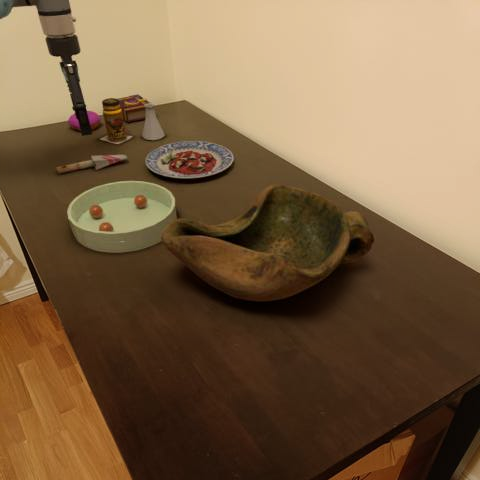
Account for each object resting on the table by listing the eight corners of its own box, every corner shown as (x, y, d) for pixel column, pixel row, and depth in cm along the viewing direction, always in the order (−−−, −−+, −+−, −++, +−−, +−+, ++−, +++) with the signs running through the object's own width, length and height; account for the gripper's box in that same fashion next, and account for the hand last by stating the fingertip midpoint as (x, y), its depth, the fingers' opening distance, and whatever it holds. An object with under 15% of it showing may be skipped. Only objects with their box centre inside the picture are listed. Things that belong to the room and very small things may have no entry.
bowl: (215, 361, 71) (220, 291, 61) (153, 264, 89) (148, 197, 79) (388, 300, 87) (415, 236, 77) (305, 228, 105) (318, 169, 94)
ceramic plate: (248, 157, 131) (248, 147, 129) (205, 192, 115) (204, 182, 113) (178, 142, 140) (177, 133, 138) (128, 173, 123) (126, 163, 121)
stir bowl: (79, 262, 92) (73, 243, 88) (68, 209, 108) (62, 190, 105) (189, 239, 98) (187, 220, 95) (163, 192, 115) (160, 174, 111)
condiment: (118, 144, 138) (110, 105, 130) (98, 139, 141) (90, 100, 133) (133, 137, 143) (126, 98, 135) (113, 132, 146) (106, 94, 138)
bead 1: (91, 221, 102) (88, 209, 100) (90, 215, 105) (86, 203, 102) (105, 219, 103) (102, 207, 101) (103, 213, 105) (100, 201, 103)
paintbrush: (126, 153, 125) (56, 168, 120) (128, 162, 127) (60, 177, 122) (123, 148, 128) (55, 163, 123) (126, 157, 130) (58, 172, 125)
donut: (65, 128, 149) (61, 114, 146) (89, 120, 155) (85, 106, 152) (83, 135, 144) (80, 121, 141) (107, 126, 150) (104, 112, 147)
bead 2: (101, 240, 97) (98, 228, 94) (99, 233, 99) (96, 221, 97) (115, 237, 97) (113, 225, 95) (113, 230, 100) (110, 218, 97)
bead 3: (136, 211, 106) (134, 199, 104) (134, 205, 108) (131, 193, 106) (149, 209, 107) (147, 197, 105) (146, 203, 109) (144, 191, 107)
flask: (154, 131, 147) (150, 99, 140) (169, 136, 144) (165, 104, 137) (138, 137, 143) (133, 105, 136) (152, 142, 140) (148, 110, 133)
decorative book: (127, 124, 152) (124, 109, 148) (111, 111, 162) (108, 97, 158) (156, 118, 156) (154, 103, 153) (139, 106, 166) (137, 91, 163)
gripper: (82, 44, 96) (104, 140, 110) (71, 24, 113) (92, 110, 127) (47, 47, 94) (74, 144, 109) (41, 27, 111) (66, 113, 125)
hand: (84, 126), depth 118 cm, fingers open, 13 cm apart
